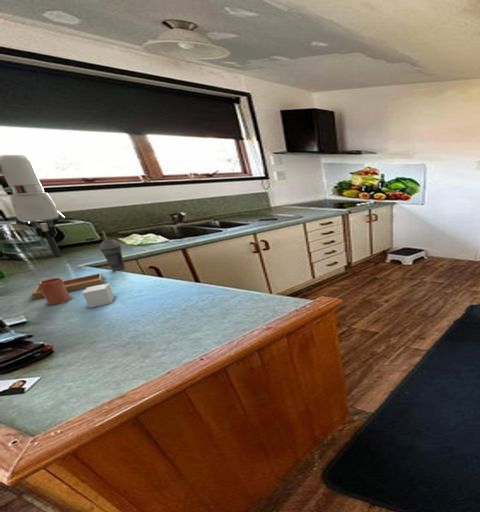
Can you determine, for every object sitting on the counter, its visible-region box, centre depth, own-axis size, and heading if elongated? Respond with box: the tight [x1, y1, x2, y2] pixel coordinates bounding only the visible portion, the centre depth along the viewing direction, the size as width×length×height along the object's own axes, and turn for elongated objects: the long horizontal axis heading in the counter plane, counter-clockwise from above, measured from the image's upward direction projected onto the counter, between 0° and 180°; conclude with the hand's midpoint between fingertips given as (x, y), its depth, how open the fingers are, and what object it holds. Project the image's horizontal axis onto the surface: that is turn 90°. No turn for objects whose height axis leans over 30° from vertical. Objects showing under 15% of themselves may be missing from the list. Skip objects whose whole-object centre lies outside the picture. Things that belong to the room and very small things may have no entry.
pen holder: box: [37, 277, 72, 305], centre depth 102 cm, size 6×6×8 cm
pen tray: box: [31, 272, 104, 300], centre depth 115 cm, size 19×10×2 cm, turn 134°
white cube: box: [82, 282, 115, 309], centre depth 101 cm, size 6×6×6 cm
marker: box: [38, 222, 62, 259], centre depth 108 cm, size 2×2×14 cm
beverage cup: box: [99, 230, 126, 273], centre depth 131 cm, size 7×7×20 cm
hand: (49, 236), depth 108 cm, fingers closed on marker, 2 cm apart
